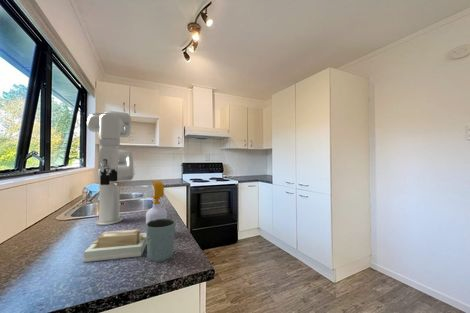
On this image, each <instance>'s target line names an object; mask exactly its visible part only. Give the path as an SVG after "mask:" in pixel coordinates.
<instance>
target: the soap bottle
mask: <svg viewBox="0 0 470 313" xmlns="http://www.w3.org/2000/svg"><path fill="white" fill-rule="evenodd" d="M150 183H151V184H152V185H153V186H154V194H153V195H150V197H151V198H153V200H154V201H153V202H152V207H151V208H150V209H149V210H147V211H146V214H145V224H146V223H147V222H149V221H152V220H155V219H162V218H168V212H167V209H165V208H163V206H162V204H161V201H159V200H161V198H163V197H164V193H165V192H164V190H165V187H164V186H165V185H164V183H163V182H162V181H161V180H153V181H151V182H150Z"/></svg>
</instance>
